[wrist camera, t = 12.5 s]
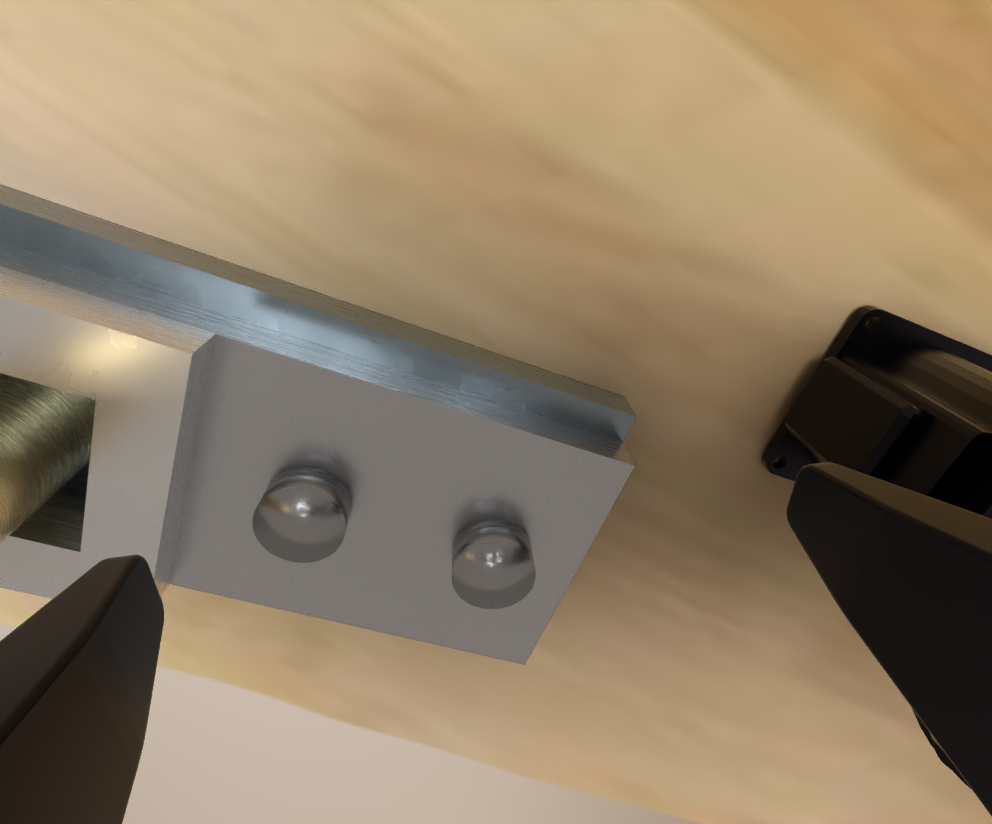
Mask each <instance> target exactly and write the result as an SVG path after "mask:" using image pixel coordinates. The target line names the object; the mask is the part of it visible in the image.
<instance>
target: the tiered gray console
mask: <svg viewBox="0 0 992 824" xmlns="http://www.w3.org/2000/svg"><path fill="white" fill-rule="evenodd" d="M0 373H2V374H6V375H9V376H13V377H16V378H20V379H23V380H27V381H31V382H34V383H38V384H41V385H45V386H48V387H52V388H55V389H59V390H63V391H66V392H70V393H73V394H77V395H80V396H84V397H87V398H91V399H95V400H96V404H95V414H94V424H93V434H92V443H91V453H90V462H89V463H88V464H87V465H85V466H84V467H83V468H82V469H81V470H80V471H79V472H78V473H77V474H76V475H75V476H73V477H72V478H71V479H70V480H69V481H68V482H67V483H66V484H65V485H64V486H63V487H61V488H60V489H59V490H58V491H57V492H56V493H55V494H54V495H53V496H52V497H51V498H49V499H48V500H47V501H46V502H45V503H44V504H43V505H42V506H41V507H40V508H39V509H37V510H36V511H35V512H34V513H33V514H32V515H31V516H30V517H29V518H28V519H27V520H26V521H24V522H23V523H22V524H21V525H20V526H19V527H18V528H17V529H16V530H15V531H14V532H12V533H11V534H10V535H9V536H8V537H7V538H6V539H5V540H4V541H3V542H2V543H0V587H1V588H5V589H10V590H15V591H19V592H24V593H29V594H33V595H38V596H43V597H47V598H52V599H54V598H55V597H56V596H57V595H58V594H60V593H61V592H62V591H63V590H65V589H66V588H67V587H68V586H70V585H71V584H72V583H73V582H75V581H76V580H77V579H78V578H80V577H81V576H82V575H83V574H85V573H86V572H87V571H88V570H90V569H91V568H92V567H93V566H95V565H96V564H97V563H99V562H100V561H102V560H104V559H107V558H113V557H121V556H128V555H140V556H142V557H144V558H145V560H146V561H147V563H148V565H149V568H150V570H151V573H152V576H153V578H154V581H155V584H156V587H157V589H158V592H159V595H160V597H161V596H162V594H163V592H164V591H165V589H166V588H167V586H168V584H172V585H176V586H181V587H185V588H190V589H194V590H198V591H203V592H207V593H212V594H216V595H220V596H225V597H229V598H234V599H238V600H242V601H247V602H251V603H256V604H260V605H264V606H269V607H273V608H278V609H282V610H286V611H291V612H295V613H300V614H304V615H308V616H313V617H317V618H322V619H326V620H330V621H335V622H339V623H344V624H348V625H352V626H357V627H361V628H366V629H370V630H374V631H379V632H383V633H388V634H392V635H396V636H401V637H405V638H410V639H414V640H418V641H423V642H427V643H432V644H436V645H440V646H445V647H449V648H454V649H458V650H462V651H467V652H471V653H476V654H480V655H484V656H489V657H493V658H498V659H502V660H506V661H511V662H515V663H520V664H524V665H525V664H526V662H527V660H528V658H529V656H530V655H531V653H532V651H533V649H534V647H535V646H536V644H537V642H538V640H539V638H540V637H541V635H542V633H543V631H544V629H545V628H546V626H547V624H548V622H549V620H550V619H551V617H552V615H553V613H554V611H555V610H556V608H557V606H558V604H559V602H560V600H561V599H562V597H563V595H564V593H565V591H566V590H567V588H568V586H569V584H570V582H571V581H572V579H573V577H574V575H575V573H576V572H577V570H578V568H579V566H580V564H581V563H582V561H583V559H584V557H585V555H586V553H587V552H588V550H589V548H590V546H591V544H592V543H593V541H594V539H595V537H596V535H597V534H598V532H599V530H600V528H601V526H602V525H603V523H604V521H605V519H606V517H607V516H608V514H609V512H610V510H611V508H612V507H613V505H614V503H615V501H616V499H617V497H618V496H619V494H620V492H621V490H622V488H623V487H624V485H625V483H626V481H627V479H628V478H629V476H630V474H631V472H632V470H633V469H634V467H635V465H634V463H633V461H632V459H631V457H630V455H629V453H628V451H627V449H626V447H625V445H624V444H623V441H624V439H625V437H626V435H627V433H628V432H629V430H630V428H631V426H632V424H633V422H634V420H635V418H636V415H635V413H634V412H633V410H632V408H631V407H630V405H629V403H628V402H627V400H626V398H625V397H623V396H620V395H617V394H614V393H611V392H608V391H605V390H602V389H599V388H596V387H593V386H590V385H587V384H584V383H582V382H579V381H576V380H573V379H570V378H567V377H564V376H561V375H558V374H555V373H552V372H549V371H546V370H543V369H540V368H537V367H535V366H532V365H529V364H526V363H523V362H520V361H517V360H514V359H511V358H508V357H505V356H502V355H499V354H496V353H493V352H490V351H488V350H485V349H482V348H479V347H476V346H473V345H470V344H467V343H464V342H461V341H458V340H455V339H452V338H449V337H446V336H443V335H441V334H438V333H435V332H432V331H429V330H426V329H423V328H420V327H417V326H414V325H411V324H408V323H405V322H402V321H399V320H396V319H393V318H391V317H388V316H385V315H382V314H379V313H376V312H373V311H370V310H367V309H364V308H361V307H358V306H355V305H352V304H349V303H346V302H344V301H341V300H338V299H335V298H332V297H329V296H326V295H323V294H320V293H317V292H314V291H311V290H308V289H305V288H302V287H299V286H297V285H294V284H291V283H288V282H285V281H282V280H279V279H276V278H273V277H270V276H267V275H264V274H261V273H258V272H255V271H252V270H249V269H247V268H244V267H241V266H238V265H235V264H232V263H229V262H226V261H223V260H220V259H217V258H214V257H211V256H208V255H205V254H202V253H200V252H197V251H194V250H191V249H188V248H185V247H182V246H179V245H176V244H173V243H170V242H167V241H164V240H161V239H158V238H155V237H153V236H150V235H147V234H144V233H141V232H138V231H135V230H132V229H129V228H126V227H123V226H120V225H117V224H114V223H111V222H108V221H105V220H103V219H100V218H97V217H94V216H91V215H88V214H85V213H82V212H79V211H76V210H73V209H70V208H67V207H64V206H61V205H58V204H56V203H53V202H50V201H47V200H44V199H41V198H38V197H35V196H32V195H29V194H26V193H23V192H20V191H17V190H14V189H11V188H9V187H6V186H3V185H0Z"/></svg>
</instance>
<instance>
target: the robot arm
mask: <svg viewBox="0 0 992 824" xmlns="http://www.w3.org/2000/svg"><path fill="white" fill-rule="evenodd" d="M872 317H873V321H872V323H871V324H870V325H869V326H868V327H865V324H866V322H867V321H868V320H869V319H870V318H872ZM780 456H781V459H780V460H779V461H778V462H775V463H773V462H774V460H775V459H776V458H778V457H780ZM761 462H762V464H763V466H764V467H765V468H766V469H767V470H768V471H769V472H770V473H772V474H775V475H778V476H781V477H784V478H787V479H790V480H793V481H795V484H794V487H793V490H792V494H791V497H790V500H789V503H788V506H787V519H788V522H789V524H790V526H791V528H792V530H793V531H794V533H795V535H796V536H797V538H798V540H799V541H800V543H801V545H802V546H803V548H804V550H805V551H806V553H807V555H808V556H809V558H810V560H811V561H812V563H813V565H814V566H815V568H816V570H817V571H818V573H819V575H820V576H821V578H822V580H823V581H824V583H825V585H826V586H827V588H828V590H829V591H830V593H831V595H832V596H833V598H834V600H835V601H836V603H837V604H838V606H839V607H840V609H841V611H842V612H843V614H844V615H845V616H846V618H847V619H848V621H849V622H850V624H851V625H852V626H853V628H854V629H855V631H856V632H857V633H858V635H859V636H860V637H861V639H862V640H863V642H864V643H865V644H866V646H867V647H868V648H869V650H870V651H871V652H872V654H873V655H874V657H875V658H876V659H877V661H878V662H879V663H880V665H881V666H882V667H883V669H884V670H885V672H886V673H887V674H888V676H889V677H890V678H891V680H892V681H893V682H894V684H895V685H896V687H897V688H898V689H899V691H900V692H901V693H902V695H903V696H904V697H905V699H906V700H907V702H908V703H909V704H910V706H911V707H912V709H913V712H914V714H915V716H916V718H917V720H918V722H919V725H920V727H921V729H922V730H923V732H924V734H925V736H926V737H927V739H928V741H929V743H930V744H931V745H932V747H933V748H934V749H935V751H936V753H937V755H938V757H939V758H940V760H941V761H942V762H943V763H944V764H945V765H946V766H947V767H949V768H950V769H951V770H952V771H953V772H954V773H955V774H956V775H957V776H958V777H959V778H960V779H961V780H962V781H963V782H964V783H965V784H966V785H967V786H968V787H969V788H971V789H972V790H973V792H974V793H975V794H976V796H977V797H978V798H979V800H980V801H981V803H982V804H983V805H984V807H985V808H986V809H987V811H988V812H989V814H990V815H991V816H992V355H990V354H988V353H985V352H983V351H980V350H978V349H976V348H973V347H971V346H968V345H966V344H964V343H961V342H959V341H956V340H954V339H952V338H949V337H947V336H944V335H942V334H940V333H937V332H935V331H932V330H930V329H928V328H925V327H923V326H920V325H918V324H915V323H913V322H911V321H908V320H906V319H903V318H901V317H899V316H896V315H894V314H891V313H889V312H887V311H884V310H882V309H879V308H877V307H875V306H865V307H862V308H861V309H859V310H857V312H856V313H855V314H854V315H853V316H852V318H851V319H850V321H849V322H848V324H847V326H846V327H845V329H844V330H843V332H842V333H841V335H840V336H839V338H838V339H837V341H836V342H835V344H834V345H833V347H832V348H831V350H830V352H829V353H828V355H827V356H826V358H825V359H824V361H823V362H822V363H821V365H820V366H819V368H818V370H817V371H816V373H815V374H814V376H813V377H812V379H811V380H810V382H809V383H808V385H807V386H806V388H805V389H804V391H803V393H802V394H801V396H800V397H799V399H798V400H797V402H796V403H795V405H794V406H793V408H792V409H791V411H790V412H789V414H788V416H787V417H786V419H785V421H784V422H783V424H782V425H781V427H780V428H779V430H778V431H777V433H776V434H775V436H774V437H773V439H772V440H771V442H770V443H769V445H768V447H767V448H766V450H765V451H764V453H763V455H762V457H761ZM163 623H164V608H163V603H162V600H161V597H160V595H159V592H158V589H157V587H156V584H155V581H154V578H153V576H152V573H151V570H150V568H149V565H148V563H147V561H146V560H145V558H144V557H142V556H140V555H128V556H121V557H113V558H107V559H104V560H102V561H100V562H99V563H97V564H96V565H95V566H93V567H92V568H91V569H90V570H88V571H87V572H86V573H85V574H83V575H82V576H81V577H80V578H78V579H77V580H76V581H75V582H73V583H72V584H71V585H70V586H68V587H67V588H66V589H65V590H63V591H62V592H61V593H60V594H58V595H57V596H56V597H55V598H54V599H52V600H51V601H50V602H49V603H47V604H46V605H45V606H44V607H42V608H41V609H40V610H39V611H37V612H36V613H35V614H34V615H32V616H31V617H30V618H29V619H27V620H26V621H25V622H24V623H22V624H21V625H20V626H19V627H17V628H16V629H15V630H14V631H12V632H11V633H10V634H9V635H7V636H6V637H5V638H4V639H3V640H1V641H0V824H122V822H123V818H124V815H125V811H126V807H127V804H128V800H129V797H130V793H131V790H132V786H133V782H134V779H135V776H136V772H137V768H138V764H139V760H140V756H141V753H142V749H143V744H144V739H145V733H146V728H147V722H148V716H149V710H150V704H151V698H152V691H153V685H154V679H155V673H156V667H157V660H158V654H159V648H160V642H161V636H162V630H163Z"/></svg>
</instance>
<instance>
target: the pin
mask: <svg viewBox="0 0 992 824" xmlns="http://www.w3.org/2000/svg"><path fill="white" fill-rule="evenodd" d="M95 404H96V400H95V399H91V398H87V397H84V396H80V395H77V394H73V393H70V392H66V391H63V390H59V389H55V388H52V387H48V386H45V385H41V384H38V383H34V382H31V381H27V380H23V379H20V378H16V377H13V376H9V375H6V374H2V373H0V543H2V542H3V541H4V540H5V539H6V538H7V537H8V536H9V535H10V534H11V533H12V532H14V531H15V530H16V529H17V528H18V527H19V526H20V525H21V524H22V523H23V522H24V521H26V520H27V519H28V518H29V517H30V516H31V515H32V514H33V513H34V512H35V511H36V510H37V509H39V508H40V507H41V506H42V505H43V504H44V503H45V502H46V501H47V500H48V499H49V498H51V497H52V496H53V495H54V494H55V493H56V492H57V491H58V490H59V489H60V488H61V487H63V486H64V485H65V484H66V483H67V482H68V481H69V480H70V479H71V478H72V477H73V476H75V475H76V474H77V473H78V472H79V471H80V470H81V469H82V468H83V467H84V466H85V465H87V464H88V463H89V462H90V453H91V443H92V434H93V424H94V414H95Z"/></svg>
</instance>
